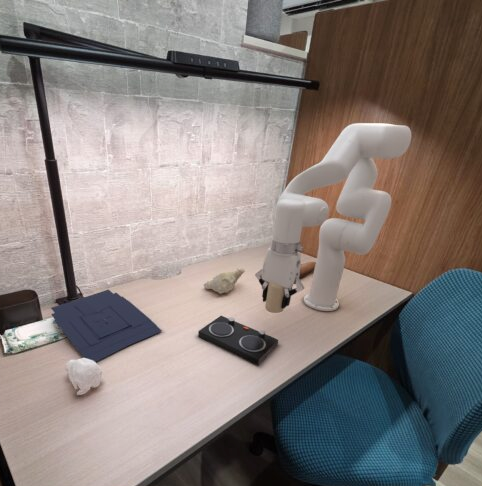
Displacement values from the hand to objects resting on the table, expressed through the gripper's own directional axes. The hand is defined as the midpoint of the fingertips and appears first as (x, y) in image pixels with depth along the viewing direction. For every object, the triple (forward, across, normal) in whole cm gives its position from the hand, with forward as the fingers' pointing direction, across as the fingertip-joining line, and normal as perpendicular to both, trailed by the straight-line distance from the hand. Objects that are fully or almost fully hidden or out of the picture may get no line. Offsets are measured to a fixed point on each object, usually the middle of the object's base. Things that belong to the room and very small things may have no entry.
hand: (275, 302), depth 95 cm
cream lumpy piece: (+11, +28, -16) cm, 35 cm away
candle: (+2, 0, 0) cm, 2 cm away
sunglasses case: (+11, +12, -53) cm, 55 cm away
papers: (+11, +42, +32) cm, 54 cm away
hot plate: (+11, +6, +11) cm, 16 cm away
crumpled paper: (+11, +25, +51) cm, 58 cm away
